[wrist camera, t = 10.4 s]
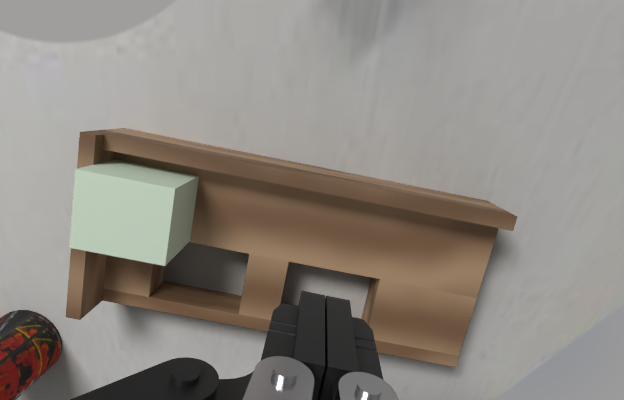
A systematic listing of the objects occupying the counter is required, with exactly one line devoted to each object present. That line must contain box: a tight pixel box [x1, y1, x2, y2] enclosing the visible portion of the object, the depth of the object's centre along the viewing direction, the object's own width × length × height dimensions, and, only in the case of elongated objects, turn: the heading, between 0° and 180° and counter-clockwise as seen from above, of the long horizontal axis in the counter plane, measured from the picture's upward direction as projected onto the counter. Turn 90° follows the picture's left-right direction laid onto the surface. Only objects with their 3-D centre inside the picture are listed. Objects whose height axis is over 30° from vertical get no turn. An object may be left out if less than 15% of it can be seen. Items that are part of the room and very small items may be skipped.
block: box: [69, 160, 199, 266], centre depth 27 cm, size 5×6×5 cm
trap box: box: [66, 128, 517, 367], centre depth 30 cm, size 13×29×6 cm, turn 79°
